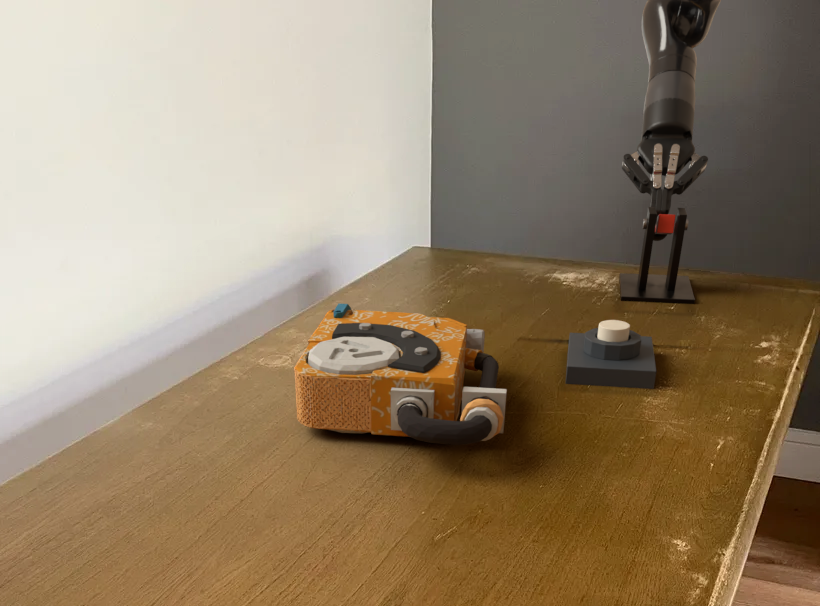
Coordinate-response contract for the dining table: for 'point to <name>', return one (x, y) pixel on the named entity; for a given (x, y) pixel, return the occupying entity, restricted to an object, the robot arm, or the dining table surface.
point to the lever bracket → (659, 286)
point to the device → (398, 378)
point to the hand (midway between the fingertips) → (659, 215)
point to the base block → (610, 361)
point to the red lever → (663, 226)
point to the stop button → (613, 331)
